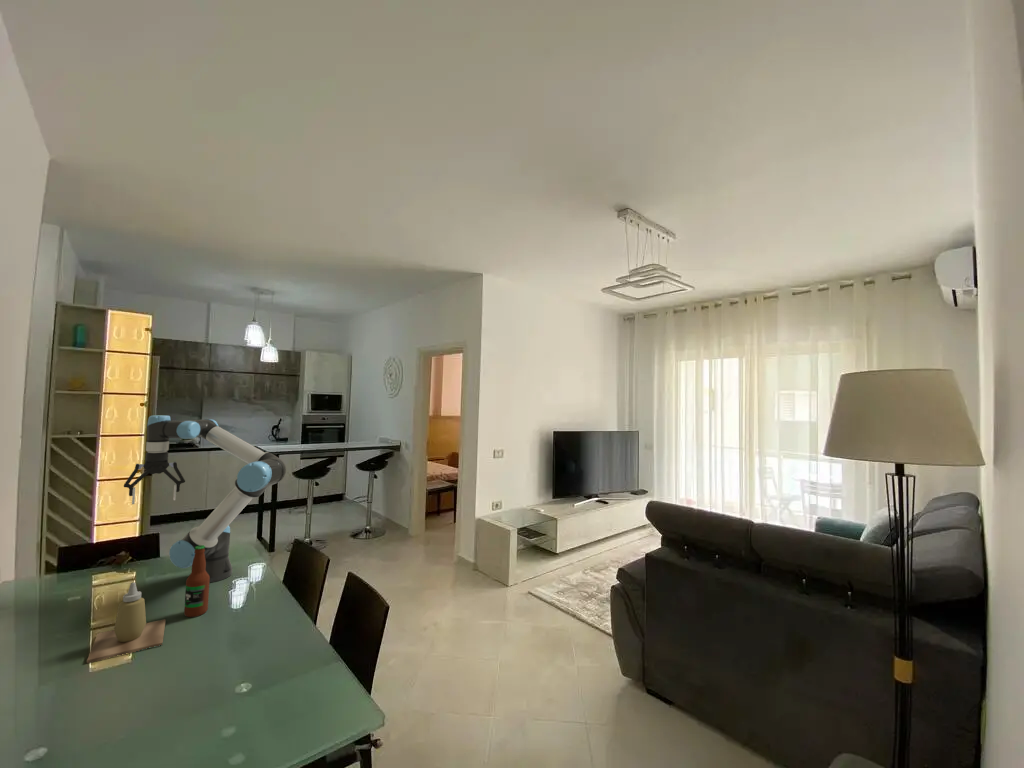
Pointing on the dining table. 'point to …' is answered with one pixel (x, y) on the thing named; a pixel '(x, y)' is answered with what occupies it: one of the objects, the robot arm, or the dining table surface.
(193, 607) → the bottle
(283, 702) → the dining table surface
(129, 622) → the squeeze bottle
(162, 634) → the walnut board
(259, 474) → the robot arm
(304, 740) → the dining table surface
